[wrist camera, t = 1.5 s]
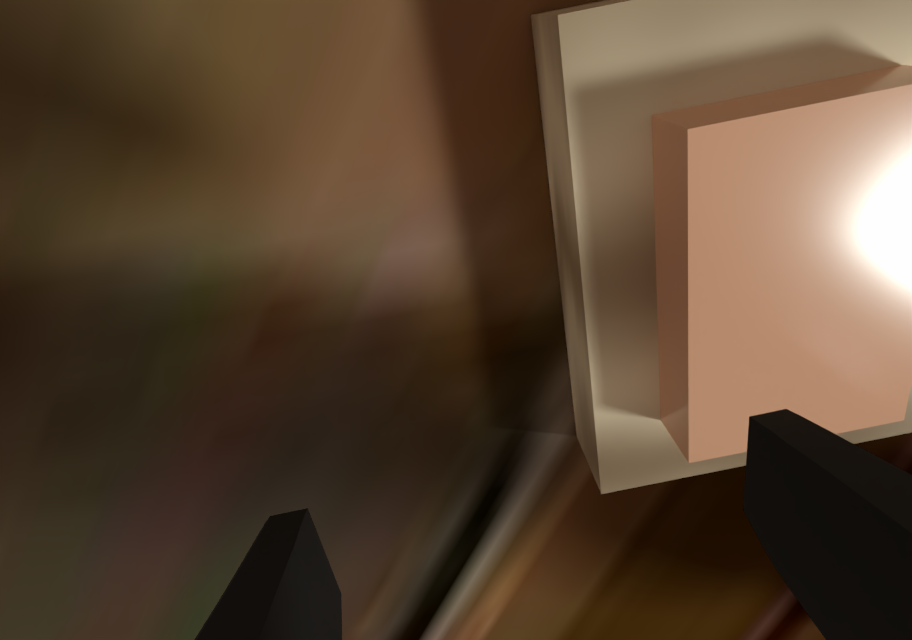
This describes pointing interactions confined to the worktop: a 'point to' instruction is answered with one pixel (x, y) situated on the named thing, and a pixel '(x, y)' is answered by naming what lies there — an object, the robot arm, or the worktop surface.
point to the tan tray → (632, 189)
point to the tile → (785, 259)
